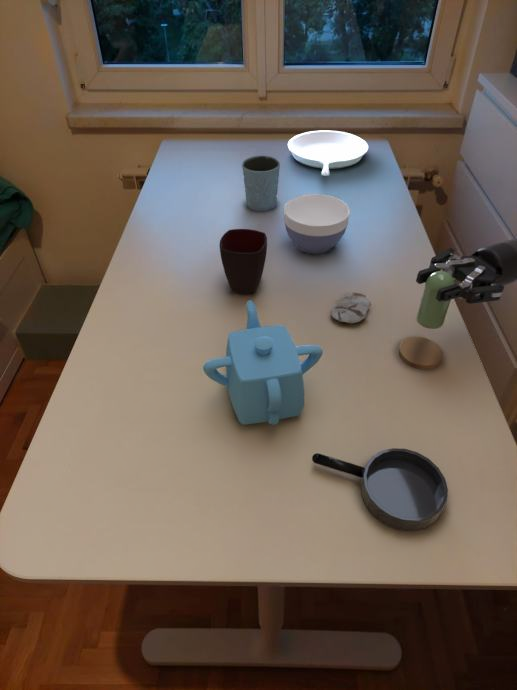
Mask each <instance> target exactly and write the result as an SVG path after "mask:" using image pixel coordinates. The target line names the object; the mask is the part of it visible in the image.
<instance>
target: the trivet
mask: <svg viewBox="0 0 517 690" xmlns="http://www.w3.org/2000/svg"><path fill="white" fill-rule="evenodd" d="M398 354H399V357H400V358H401V360H402V361H403V362H404V363H405V364H406V365H408V366H410V367H412V368H414V369H418V370H419V369H420V370H429V369H433V368H436V367H437V366H438V365H439V364H441V361H442V359H443V351H442V348H441V347H440V345H439V344H437V343H436V342H435V341H433V340H431V339H429V338H426V337H423V336H411V337H408V338H405V339H404V340H402V342H401V343H400V345H399V349H398Z"/></svg>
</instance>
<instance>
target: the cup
mask: <svg viewBox="0 0 517 690" xmlns="http://www.w3.org/2000/svg"><path fill="white" fill-rule="evenodd" d="M218 246H219V253H220V259H221V263H222V267H223V271H224V275H225V277H226V280H227V284H228V286H229V288H230V290H231V291H232V292H233V293H236V294H239V295H253V294H256V292H257V290H258V289H259V286H260V283H261V280H262V276H263V273H264V268H265V264H266V259H267V251H268V237H267V234H266V232H263V231H260V230H255V229H250V228H234V229H229V230H227V231H226V232H225V233H224V234H223V235H222V236H221V238H220V240H219V245H218Z"/></svg>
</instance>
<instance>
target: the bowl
mask: <svg viewBox="0 0 517 690" xmlns="http://www.w3.org/2000/svg"><path fill="white" fill-rule="evenodd" d="M350 216H351V209H350V207H349V205H348V204H347V203H346V202H345V201H343V200H342V199H340V198H338V197H336V196H332V195H328V194H320V193H308V194H302V195H298V196H295V197H292V198H291V199H289V200H288V201H287V202H286V203H285V204H284V207H283V221H284V226H285V231H286V234H287V235H288V237H289V239H290V240H291V242H292V243H293V244H295V245H296V247H297V248H298V249H299V250H300V251H302V252H305V253H308V254H316V255H317V254H323V253H326V252H328V251H330V250H331V248H333V247H334V246H336V245H337V244H338V243H339V242H340V241H341V239H342V238H343V237H344V235H345V233H346V229H347V228H348V225H349V220H350Z"/></svg>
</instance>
